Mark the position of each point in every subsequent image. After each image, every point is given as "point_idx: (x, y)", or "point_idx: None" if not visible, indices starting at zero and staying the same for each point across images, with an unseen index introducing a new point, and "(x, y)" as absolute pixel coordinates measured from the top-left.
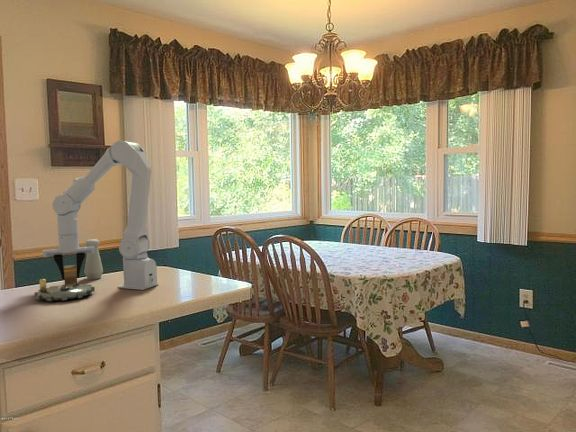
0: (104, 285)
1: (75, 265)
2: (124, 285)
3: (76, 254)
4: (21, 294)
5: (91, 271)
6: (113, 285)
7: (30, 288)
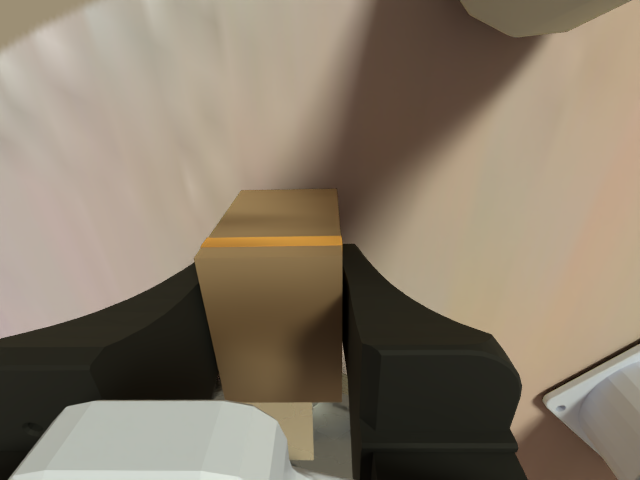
0: (501, 299)
1: (333, 292)
2: (581, 415)
3: (365, 452)
4: (37, 326)
5: (514, 27)
6: (549, 321)
7: (5, 177)
